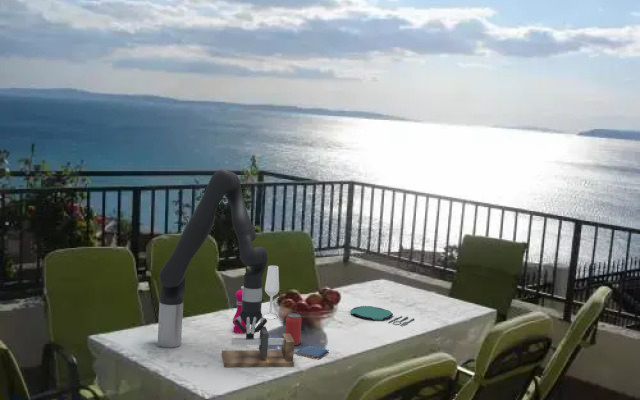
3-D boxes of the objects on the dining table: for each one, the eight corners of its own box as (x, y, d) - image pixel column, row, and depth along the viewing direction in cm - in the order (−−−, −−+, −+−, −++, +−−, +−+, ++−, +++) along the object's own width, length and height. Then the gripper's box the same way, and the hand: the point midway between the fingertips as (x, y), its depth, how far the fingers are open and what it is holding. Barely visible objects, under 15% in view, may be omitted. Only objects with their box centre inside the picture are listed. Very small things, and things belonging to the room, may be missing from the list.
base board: (224, 367, 252) (225, 343, 251) (221, 354, 266) (223, 331, 265) (293, 366, 258) (295, 343, 257) (287, 353, 271) (289, 331, 270)
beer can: (288, 346, 280) (290, 318, 279) (281, 341, 286) (283, 313, 285) (302, 345, 284) (304, 316, 282) (295, 340, 289) (297, 312, 288)
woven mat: (305, 349, 280) (306, 344, 280) (329, 354, 276) (329, 349, 276) (294, 356, 271) (295, 351, 271) (319, 361, 267) (319, 356, 267)
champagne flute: (276, 319, 318) (280, 268, 315) (262, 318, 318) (265, 267, 315) (277, 315, 324) (281, 265, 322) (263, 314, 324) (266, 264, 322)
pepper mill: (246, 334, 292) (248, 288, 290) (229, 332, 293) (232, 287, 291) (251, 329, 299) (253, 285, 297) (235, 327, 300) (237, 283, 298)
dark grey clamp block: (261, 356, 257) (263, 333, 256) (259, 348, 266) (260, 326, 265) (267, 356, 258) (268, 333, 257) (264, 348, 267) (265, 326, 266)
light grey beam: (232, 345, 258) (232, 339, 258) (231, 343, 260) (232, 337, 260) (284, 345, 262) (284, 339, 262) (283, 343, 264) (283, 337, 264)
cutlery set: (363, 307, 350) (363, 303, 349) (417, 320, 334) (417, 316, 334) (343, 315, 333) (344, 311, 332) (399, 330, 317) (399, 325, 317)
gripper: (267, 296, 266) (265, 339, 268) (233, 295, 264) (231, 339, 266) (270, 301, 259) (267, 345, 261) (235, 301, 256) (233, 345, 258)
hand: (249, 342), depth 263 cm, fingers closed
